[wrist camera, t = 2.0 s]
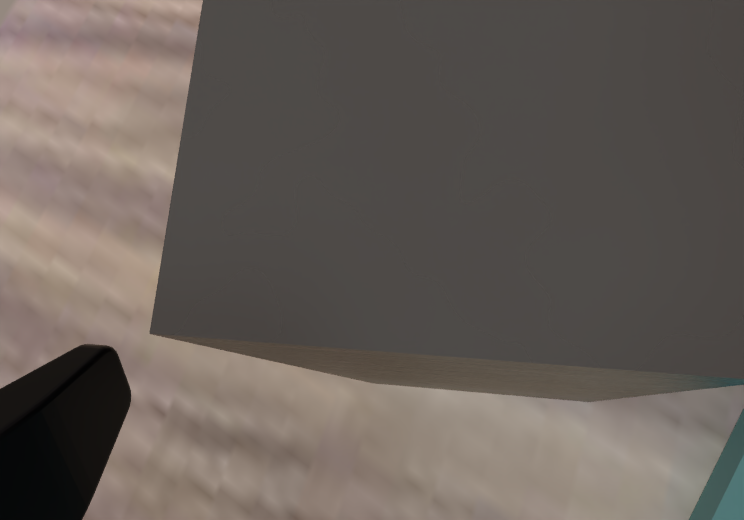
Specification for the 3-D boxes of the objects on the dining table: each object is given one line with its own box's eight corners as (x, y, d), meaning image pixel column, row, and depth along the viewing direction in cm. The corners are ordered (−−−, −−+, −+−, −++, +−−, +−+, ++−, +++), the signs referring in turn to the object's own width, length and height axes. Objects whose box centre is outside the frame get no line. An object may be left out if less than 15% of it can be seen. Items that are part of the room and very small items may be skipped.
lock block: (589, 401, 18) (771, 380, 6) (372, 383, 19) (148, 333, 7) (593, 190, 19) (750, -189, 7) (389, 185, 20) (225, -144, 8)
